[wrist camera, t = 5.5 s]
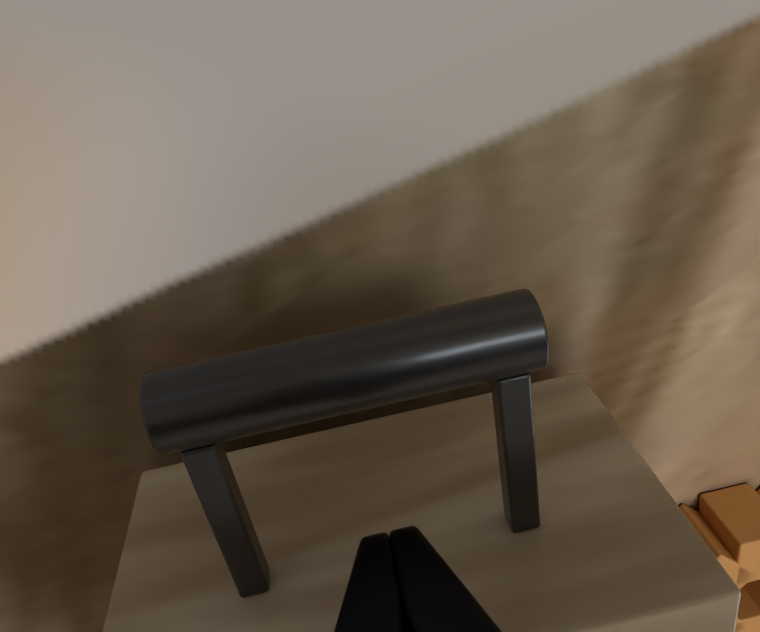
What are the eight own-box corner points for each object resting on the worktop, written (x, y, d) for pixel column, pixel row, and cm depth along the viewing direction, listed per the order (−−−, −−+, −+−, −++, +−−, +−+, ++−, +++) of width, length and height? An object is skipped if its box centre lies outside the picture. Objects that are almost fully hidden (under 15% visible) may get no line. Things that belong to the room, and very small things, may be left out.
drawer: (57, 292, 14) (-98, 540, 8) (576, 181, 15) (786, 337, 9) (258, 721, 23) (253, 998, 17) (585, 640, 23) (695, 881, 17)
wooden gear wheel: (636, 616, 24) (666, 673, 23) (640, 507, 22) (676, 561, 20) (782, 581, 25) (825, 633, 23) (806, 468, 22) (857, 517, 20)
